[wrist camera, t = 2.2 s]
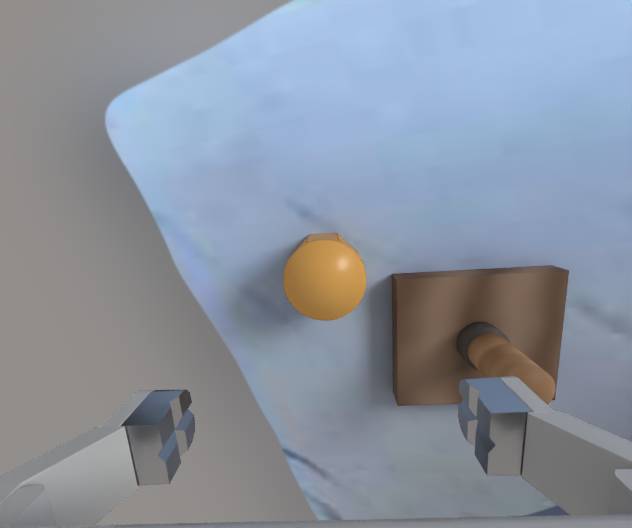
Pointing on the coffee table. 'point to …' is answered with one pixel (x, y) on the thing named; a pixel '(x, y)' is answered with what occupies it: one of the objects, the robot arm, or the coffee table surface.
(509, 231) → the coffee table surface
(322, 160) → the coffee table surface
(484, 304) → the wooden peg stand
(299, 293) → the domed octagonal prism
